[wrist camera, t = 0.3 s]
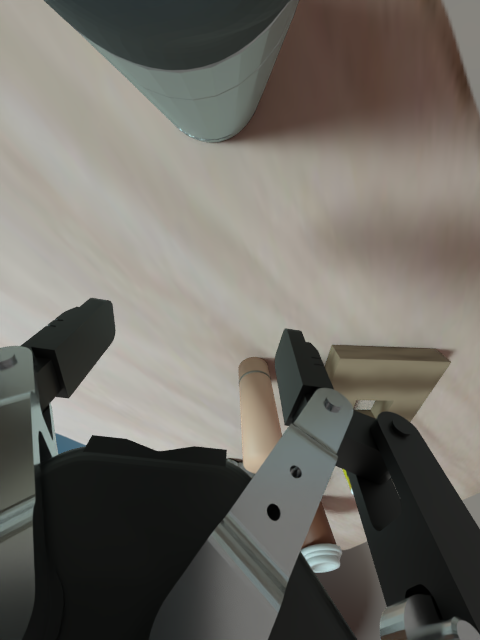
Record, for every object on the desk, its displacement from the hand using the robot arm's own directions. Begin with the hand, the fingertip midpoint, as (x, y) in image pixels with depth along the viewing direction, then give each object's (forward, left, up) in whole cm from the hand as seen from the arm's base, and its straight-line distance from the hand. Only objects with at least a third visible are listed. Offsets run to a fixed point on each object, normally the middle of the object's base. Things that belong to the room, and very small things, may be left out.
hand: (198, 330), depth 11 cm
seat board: (+25, +25, -18) cm, 39 cm away
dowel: (+19, +6, -18) cm, 26 cm away
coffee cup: (+62, +24, -18) cm, 68 cm away
